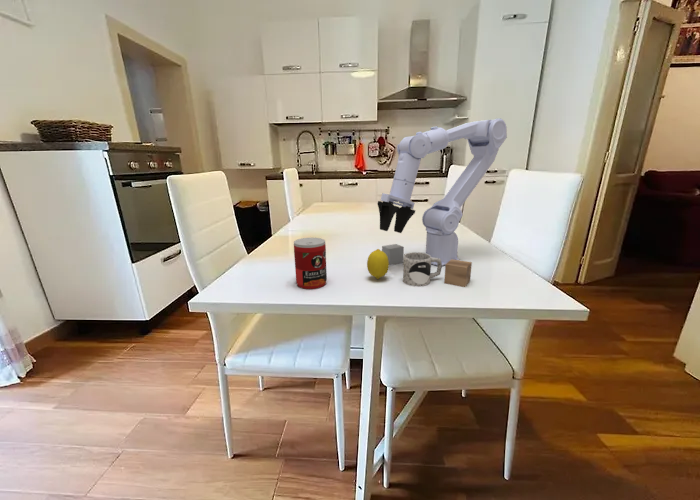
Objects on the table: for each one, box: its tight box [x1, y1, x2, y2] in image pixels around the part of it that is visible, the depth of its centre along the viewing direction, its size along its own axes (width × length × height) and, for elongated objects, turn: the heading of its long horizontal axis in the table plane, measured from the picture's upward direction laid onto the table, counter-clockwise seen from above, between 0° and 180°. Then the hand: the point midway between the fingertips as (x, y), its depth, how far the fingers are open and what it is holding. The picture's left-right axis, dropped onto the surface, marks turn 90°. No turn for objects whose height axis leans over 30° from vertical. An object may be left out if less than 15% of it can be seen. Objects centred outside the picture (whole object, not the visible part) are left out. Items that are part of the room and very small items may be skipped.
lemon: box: [366, 248, 390, 280], centre depth 80 cm, size 6×6×8 cm
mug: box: [402, 252, 442, 287], centre depth 79 cm, size 10×7×7 cm
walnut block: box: [444, 259, 473, 288], centre depth 78 cm, size 5×5×5 cm
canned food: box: [293, 237, 328, 290], centre depth 77 cm, size 8×8×11 cm
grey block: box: [381, 243, 405, 266], centre depth 94 cm, size 5×4×5 cm
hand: (390, 231), depth 86 cm, fingers open, 7 cm apart
